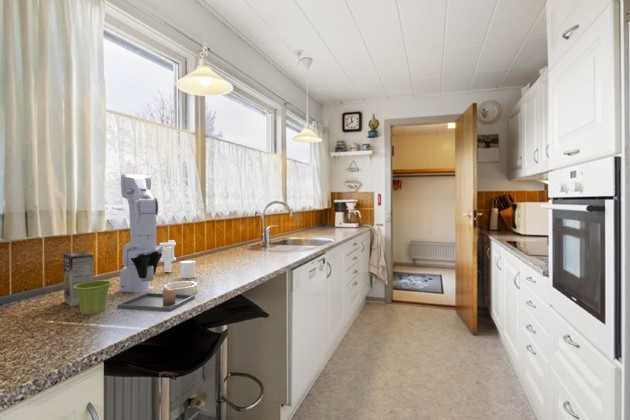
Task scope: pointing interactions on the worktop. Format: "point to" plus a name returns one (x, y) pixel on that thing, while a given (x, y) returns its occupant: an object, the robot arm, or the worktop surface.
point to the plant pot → (92, 296)
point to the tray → (155, 302)
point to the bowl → (183, 287)
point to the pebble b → (169, 296)
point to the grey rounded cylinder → (149, 274)
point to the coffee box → (76, 274)
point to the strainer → (168, 254)
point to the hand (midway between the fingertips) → (147, 276)
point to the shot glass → (187, 269)
